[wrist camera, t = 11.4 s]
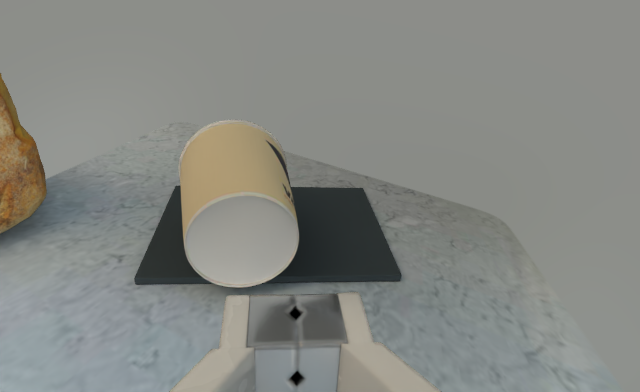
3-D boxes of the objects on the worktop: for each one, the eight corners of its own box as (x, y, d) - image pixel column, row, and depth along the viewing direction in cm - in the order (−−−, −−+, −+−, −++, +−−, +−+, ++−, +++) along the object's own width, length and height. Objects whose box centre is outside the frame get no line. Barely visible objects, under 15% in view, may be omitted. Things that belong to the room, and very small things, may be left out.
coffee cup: (323, 187, 29) (292, 122, 39) (172, 178, 26) (181, 110, 36) (299, 296, 33) (277, 212, 43) (168, 297, 31) (177, 207, 41)
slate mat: (362, 192, 49) (362, 187, 49) (400, 281, 35) (401, 274, 34) (176, 190, 47) (175, 185, 46) (135, 284, 32) (133, 277, 32)
